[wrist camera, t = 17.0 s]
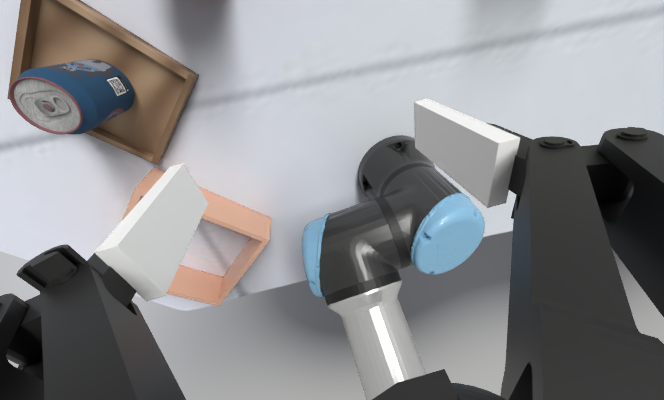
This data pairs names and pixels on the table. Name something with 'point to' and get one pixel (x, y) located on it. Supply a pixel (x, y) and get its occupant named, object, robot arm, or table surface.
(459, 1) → the table surface
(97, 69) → the soda can
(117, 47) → the walnut tray
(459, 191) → the robot arm
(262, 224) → the terracotta sleeve
